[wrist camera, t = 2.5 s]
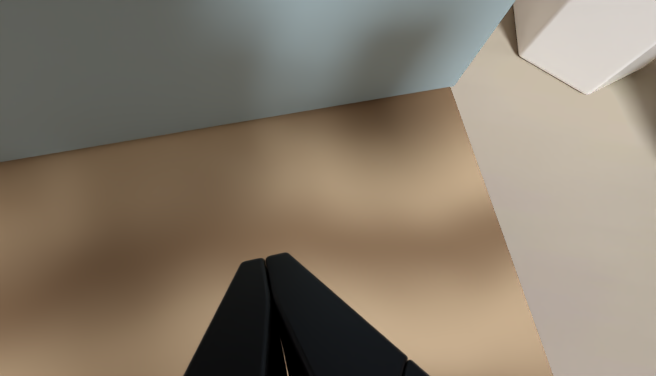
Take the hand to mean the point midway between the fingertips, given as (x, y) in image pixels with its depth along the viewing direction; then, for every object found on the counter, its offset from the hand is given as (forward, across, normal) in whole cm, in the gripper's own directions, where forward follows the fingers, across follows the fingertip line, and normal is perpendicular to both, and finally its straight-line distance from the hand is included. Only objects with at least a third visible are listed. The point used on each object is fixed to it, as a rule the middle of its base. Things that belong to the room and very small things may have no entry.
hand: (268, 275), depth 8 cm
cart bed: (+10, 0, +8) cm, 13 cm away
